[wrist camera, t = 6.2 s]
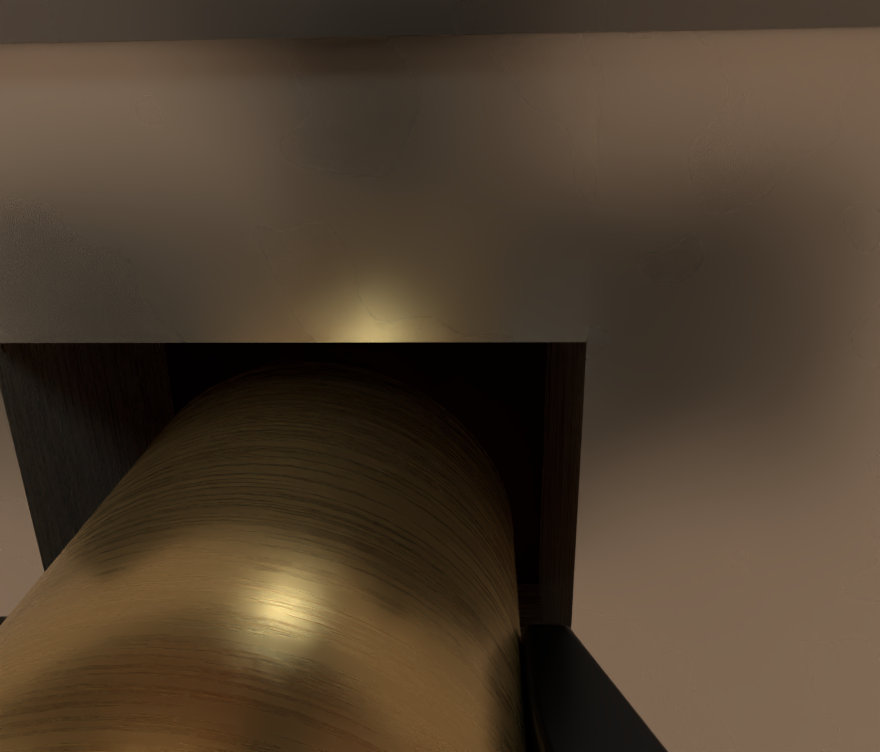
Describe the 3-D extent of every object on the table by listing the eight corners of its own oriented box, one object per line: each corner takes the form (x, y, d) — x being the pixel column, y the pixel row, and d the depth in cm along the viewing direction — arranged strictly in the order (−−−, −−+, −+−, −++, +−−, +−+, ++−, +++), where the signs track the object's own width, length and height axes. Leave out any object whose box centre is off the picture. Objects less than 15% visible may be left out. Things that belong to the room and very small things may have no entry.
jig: (997, -24, 10) (1363, -76, 6) (831, 739, 14) (971, 1011, 10) (-285, 4, 10) (-761, -24, 6) (-56, 721, 15) (-252, 967, 11)
